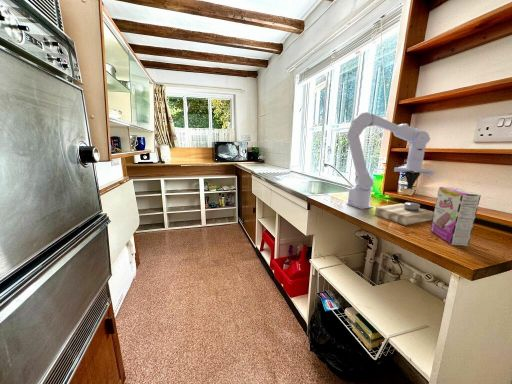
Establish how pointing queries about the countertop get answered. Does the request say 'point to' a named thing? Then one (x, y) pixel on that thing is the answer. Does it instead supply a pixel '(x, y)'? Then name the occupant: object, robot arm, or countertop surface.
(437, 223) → the candy bar box
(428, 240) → the countertop surface
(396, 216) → the board
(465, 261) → the countertop surface
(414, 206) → the peg
